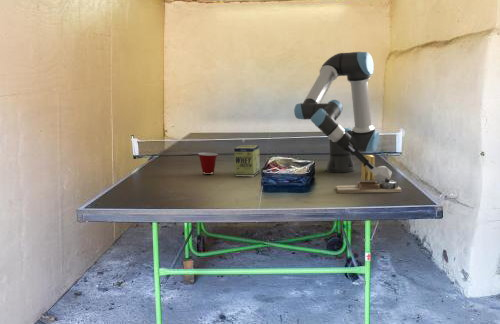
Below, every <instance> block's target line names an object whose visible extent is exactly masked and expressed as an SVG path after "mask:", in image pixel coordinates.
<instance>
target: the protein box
mask: <svg viewBox="0 0 500 324" xmlns="http://www.w3.org/2000/svg"><path fill="white" fill-rule="evenodd" d="M233 150H234V152H233V153H234V155H233V156H234V176H235V175H255V174H256V173H257V172H259V171H260V172H261V169H260V168H261V166H260V162H261V161H260V145H259V144H240V145H239V146H236V147H235V148H234V149H233ZM260 172H259V173H260Z"/></svg>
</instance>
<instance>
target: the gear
mask: <svg viewBox="0 0 500 324" xmlns="http://www.w3.org/2000/svg"><path fill="white" fill-rule="evenodd" d="M377 183H378V184H379V185H380V189H396V188H397V187H398V186H399V182H398V181H396V180H393V179H391V177H390V178H385V180H381V181H380V180H379V181H377Z"/></svg>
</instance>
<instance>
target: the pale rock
mask: <svg viewBox="0 0 500 324" xmlns="http://www.w3.org/2000/svg"><path fill="white" fill-rule="evenodd" d="M376 168H377V169H378V170H379V171H380V172H379V173H378V174H377V175H376V176H375V179H374V180H375V181H377V182H378V181H379V180H380V181H381V180H385V178H390V179H391V177H392V175H393V172H392V170H391V169H389V168H388V167H387V166H385V165H380V166H376Z"/></svg>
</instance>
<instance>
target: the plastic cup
mask: <svg viewBox="0 0 500 324" xmlns="http://www.w3.org/2000/svg"><path fill="white" fill-rule="evenodd" d="M197 155H198V156H199V160H200V161H199V162H200V167H201V172H202V173H203V172H205V173H211V172H214V173H215V167H216V160H217V156H218V155H219V154H218V153H216V152H198V153H197Z"/></svg>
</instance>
